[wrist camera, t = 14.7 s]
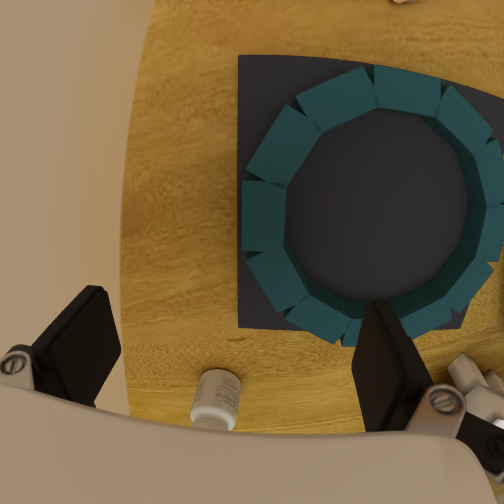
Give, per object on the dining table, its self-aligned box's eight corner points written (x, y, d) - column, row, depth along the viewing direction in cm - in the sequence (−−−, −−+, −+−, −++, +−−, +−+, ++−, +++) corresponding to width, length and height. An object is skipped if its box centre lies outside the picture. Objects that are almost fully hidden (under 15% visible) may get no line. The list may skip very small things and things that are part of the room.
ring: (245, 322, 27) (242, 343, 25) (247, 62, 19) (242, 54, 16) (457, 323, 26) (469, 341, 23) (502, 105, 17) (522, 106, 15)
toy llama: (450, 345, 28) (522, 505, 9) (511, 381, 30) (564, 488, 12) (404, 390, 31) (445, 547, 12) (475, 416, 33) (514, 523, 15)
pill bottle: (207, 396, 33) (193, 452, 26) (194, 369, 31) (176, 427, 24) (246, 393, 32) (238, 452, 25) (235, 366, 30) (224, 427, 23)
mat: (239, 323, 28) (238, 327, 28) (239, 56, 19) (238, 54, 19) (457, 325, 27) (459, 328, 26) (503, 100, 18) (507, 100, 17)
